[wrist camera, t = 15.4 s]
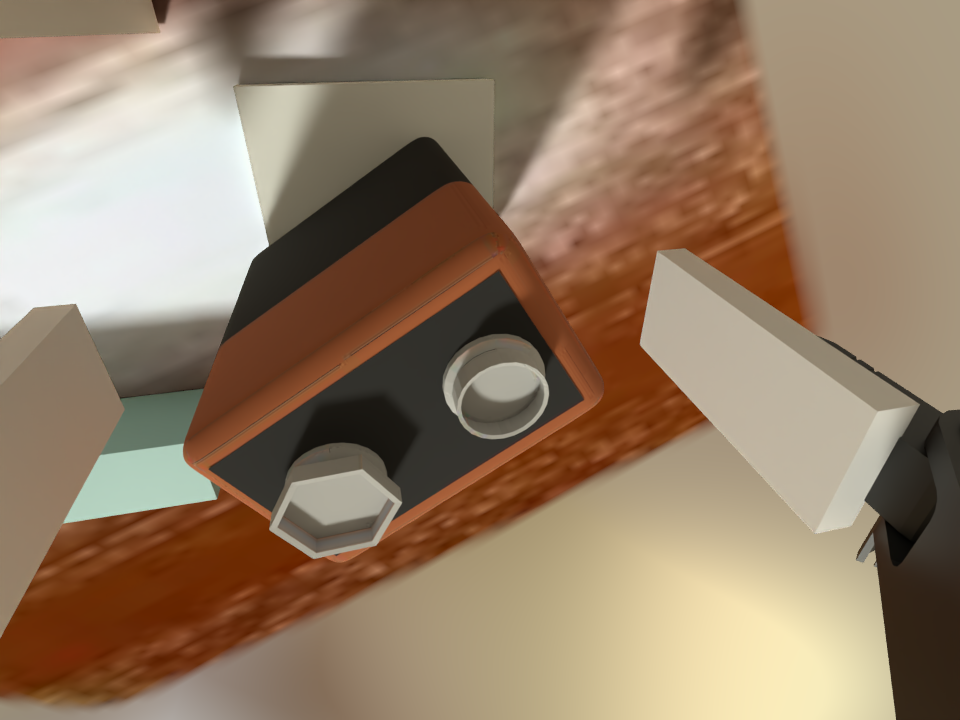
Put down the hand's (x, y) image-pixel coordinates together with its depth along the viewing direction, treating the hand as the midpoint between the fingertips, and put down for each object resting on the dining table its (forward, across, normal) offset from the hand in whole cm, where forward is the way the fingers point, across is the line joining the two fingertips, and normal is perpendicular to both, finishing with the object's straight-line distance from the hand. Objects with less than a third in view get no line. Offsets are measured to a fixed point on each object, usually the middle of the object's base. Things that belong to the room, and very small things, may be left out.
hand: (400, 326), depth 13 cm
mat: (+6, 0, 0) cm, 6 cm away
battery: (+5, 0, 0) cm, 5 cm away
